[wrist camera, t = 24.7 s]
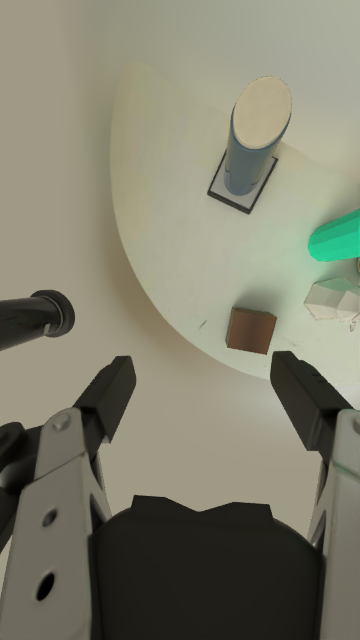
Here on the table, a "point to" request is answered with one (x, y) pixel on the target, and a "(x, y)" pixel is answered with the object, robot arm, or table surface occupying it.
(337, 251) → the candle
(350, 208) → the table surface
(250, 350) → the block
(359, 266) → the pill bottle
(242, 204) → the scale
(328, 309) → the figurine
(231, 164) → the canister
